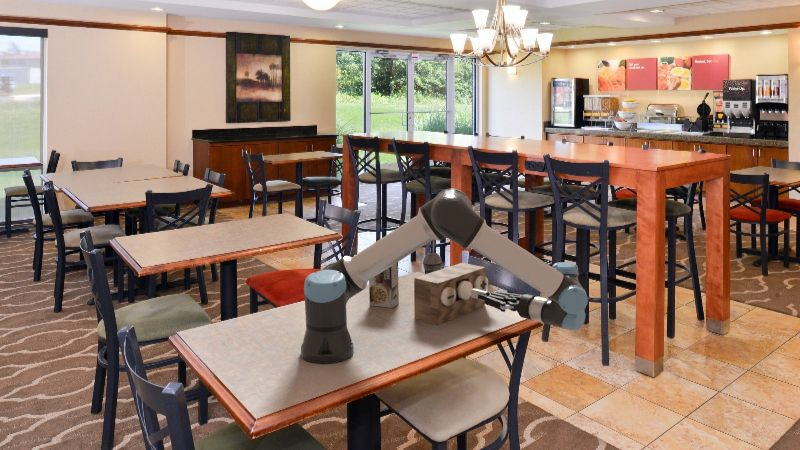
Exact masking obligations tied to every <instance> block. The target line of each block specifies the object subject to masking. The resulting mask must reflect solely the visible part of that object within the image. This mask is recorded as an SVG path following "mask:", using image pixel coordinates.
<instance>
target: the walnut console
mask: <svg viewBox="0 0 800 450" xmlns="http://www.w3.org/2000/svg"><path fill="white" fill-rule="evenodd" d="M413 279H414V280H413V288H414V290H413V291H414V292H413V293H414V294H413V295H414V299H413V300H414V303H413V304H414V309H413V310H414V317H413V318H414V319H416V320H418V321H422V322H425V323H429V324H432V325H436V326H439V325H441V324H444V323H447V322H449V321H451V320H453V319H456V318H458V317H461V316H464V315H467V314H468V313H470V312H473V311H476V310H478V309H481V308H483V307H485V305H486V304H485V301H484V300H480V299H476V298H472V297H471V296H470V297H469V298H468V299H466V300H465V299H461V298H459V297H458V295H457V287H458V285H459V283H460V282H461V281H468V282H470V283H471V284H472V287H473V289H478V290H483V291H487V290H488V286H489V279H488V277H487V276H486V267H485V266H481V265H475V264H471V263H466V262H460V263H456V264H455V265H451V266H447V267H444V268H441V270H438V271H434V272H431V273H428V274H425V273H424V274H422V275H420V276H416V277H414V278H413Z"/></svg>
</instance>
